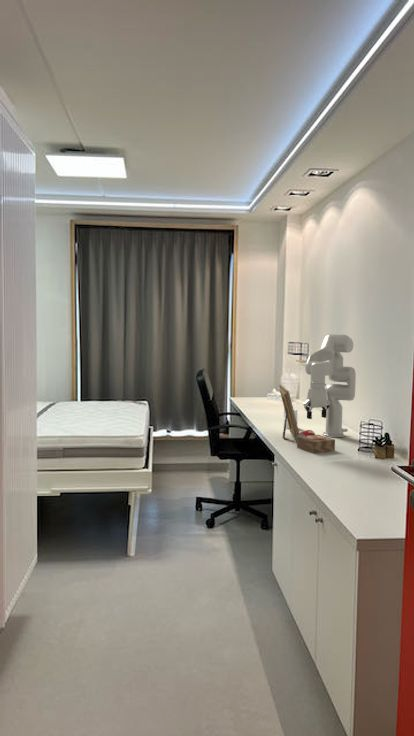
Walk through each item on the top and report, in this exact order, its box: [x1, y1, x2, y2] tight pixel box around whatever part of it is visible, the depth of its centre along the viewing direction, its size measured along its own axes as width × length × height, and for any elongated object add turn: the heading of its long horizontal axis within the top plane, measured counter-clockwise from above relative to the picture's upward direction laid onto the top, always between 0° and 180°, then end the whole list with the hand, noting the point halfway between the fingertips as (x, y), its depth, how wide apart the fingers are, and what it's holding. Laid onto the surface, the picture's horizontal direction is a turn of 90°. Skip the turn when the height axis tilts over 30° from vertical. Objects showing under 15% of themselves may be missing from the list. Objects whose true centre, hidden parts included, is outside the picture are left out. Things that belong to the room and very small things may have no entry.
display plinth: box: [296, 434, 336, 454], centre depth 283 cm, size 14×14×6 cm
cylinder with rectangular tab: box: [282, 408, 298, 430], centre depth 344 cm, size 9×9×12 cm
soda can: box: [295, 429, 316, 442], centre depth 296 cm, size 7×7×13 cm
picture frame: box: [279, 384, 300, 440], centre depth 309 cm, size 33×10×30 cm, turn 179°
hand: (316, 418), depth 282 cm, fingers open, 9 cm apart
